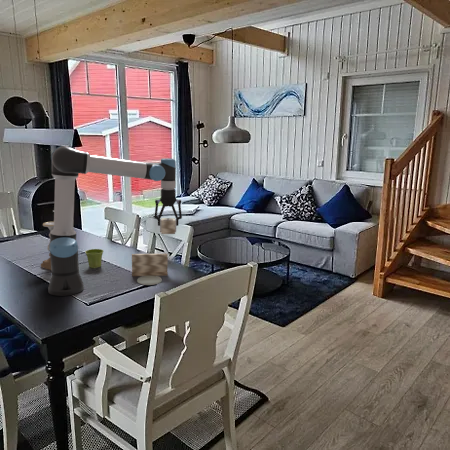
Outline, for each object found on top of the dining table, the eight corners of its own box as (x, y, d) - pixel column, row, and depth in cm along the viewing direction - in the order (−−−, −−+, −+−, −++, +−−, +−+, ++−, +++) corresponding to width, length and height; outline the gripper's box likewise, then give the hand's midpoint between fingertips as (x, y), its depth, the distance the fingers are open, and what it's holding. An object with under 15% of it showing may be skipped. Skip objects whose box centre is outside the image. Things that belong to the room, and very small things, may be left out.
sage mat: (152, 286, 190) (152, 285, 190) (132, 282, 195) (132, 281, 195) (166, 279, 201) (166, 278, 201) (146, 275, 205) (146, 274, 205)
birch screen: (167, 272, 210) (167, 252, 207) (167, 275, 206) (167, 255, 204) (132, 273, 207) (132, 253, 205) (131, 276, 203) (131, 255, 201)
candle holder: (58, 262, 221) (55, 220, 216) (71, 265, 216) (69, 222, 211) (40, 267, 212) (37, 223, 207) (53, 271, 207) (50, 226, 202)
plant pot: (101, 269, 211) (100, 254, 210) (83, 269, 211) (82, 253, 209) (106, 264, 221) (105, 249, 219) (89, 263, 220) (88, 248, 219)
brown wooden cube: (174, 230, 215) (174, 217, 214) (174, 233, 208) (175, 220, 207) (161, 230, 214) (161, 217, 212) (161, 234, 207) (161, 220, 206)
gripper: (187, 188, 211) (186, 230, 216) (148, 187, 208) (149, 230, 213) (187, 189, 204) (187, 233, 209) (148, 189, 201) (148, 233, 206)
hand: (168, 231), depth 211 cm, fingers closed on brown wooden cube, 7 cm apart
